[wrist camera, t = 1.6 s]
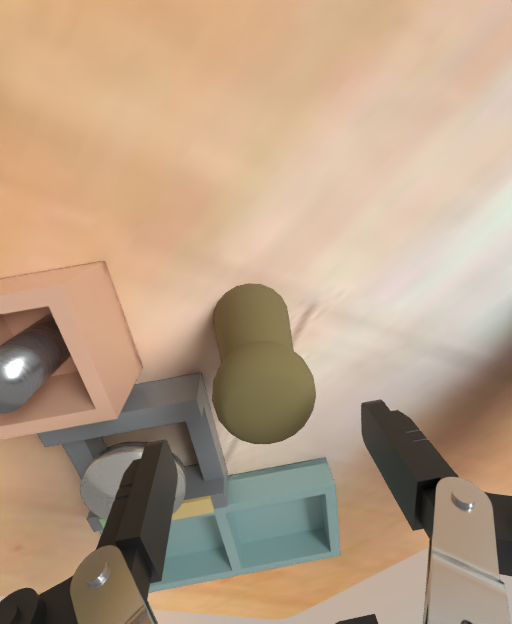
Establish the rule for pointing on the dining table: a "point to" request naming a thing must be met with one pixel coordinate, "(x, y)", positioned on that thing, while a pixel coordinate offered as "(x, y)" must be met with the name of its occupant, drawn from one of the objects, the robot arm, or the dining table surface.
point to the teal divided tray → (257, 526)
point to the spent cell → (29, 362)
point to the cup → (72, 347)
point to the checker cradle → (151, 413)
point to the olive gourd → (259, 368)
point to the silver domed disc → (118, 477)
